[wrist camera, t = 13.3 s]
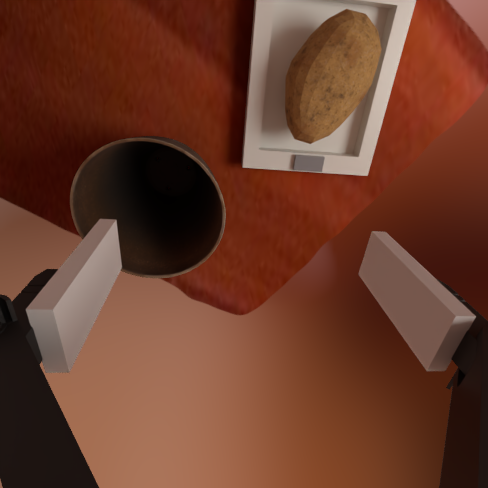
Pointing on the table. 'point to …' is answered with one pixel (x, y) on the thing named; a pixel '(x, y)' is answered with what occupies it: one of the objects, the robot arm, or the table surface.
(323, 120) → the potato
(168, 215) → the plant pot
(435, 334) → the robot arm
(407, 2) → the white rimmed tray
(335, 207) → the table surface
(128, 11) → the table surface
